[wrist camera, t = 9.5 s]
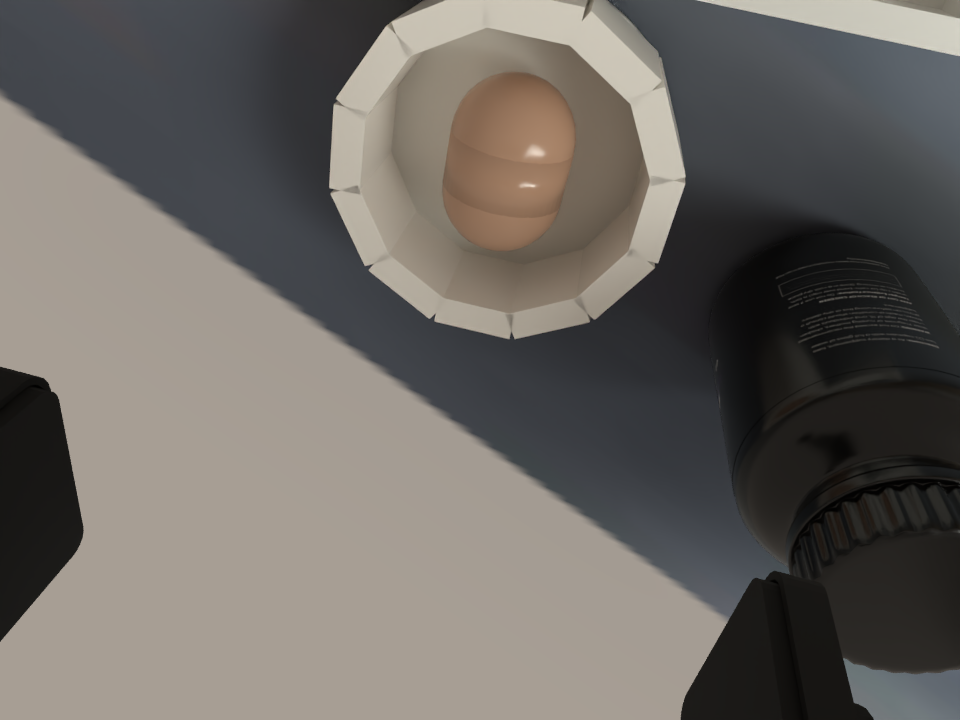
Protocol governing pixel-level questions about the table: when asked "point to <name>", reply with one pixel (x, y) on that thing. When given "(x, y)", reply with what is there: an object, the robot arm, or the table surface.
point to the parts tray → (871, 18)
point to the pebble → (508, 160)
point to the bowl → (591, 182)
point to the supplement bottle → (848, 438)
